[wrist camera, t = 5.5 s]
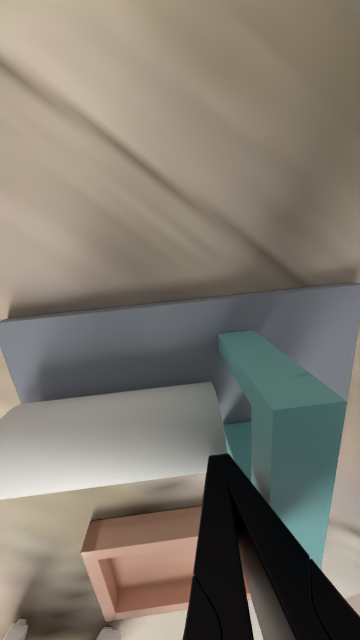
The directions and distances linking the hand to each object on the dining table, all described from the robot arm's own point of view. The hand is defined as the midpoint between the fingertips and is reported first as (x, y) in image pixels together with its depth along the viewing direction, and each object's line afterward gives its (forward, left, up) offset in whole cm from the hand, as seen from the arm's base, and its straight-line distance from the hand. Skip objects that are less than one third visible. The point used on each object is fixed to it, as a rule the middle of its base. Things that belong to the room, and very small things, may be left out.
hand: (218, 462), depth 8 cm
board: (+1, 0, -5) cm, 5 cm away
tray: (+2, +16, -5) cm, 17 cm away
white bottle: (+5, 0, -4) cm, 7 cm away
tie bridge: (-2, 0, -4) cm, 5 cm away
